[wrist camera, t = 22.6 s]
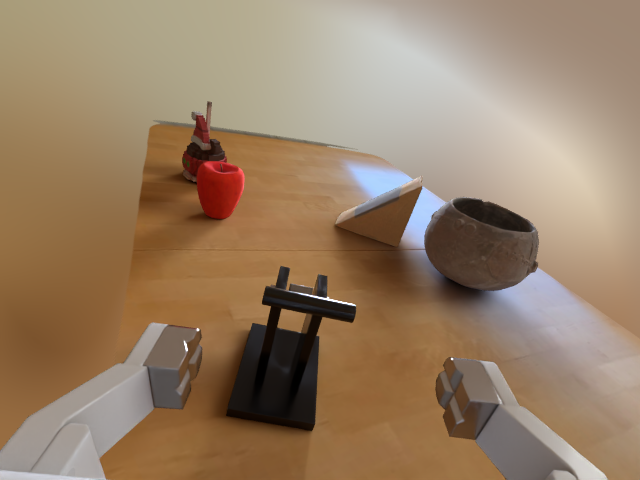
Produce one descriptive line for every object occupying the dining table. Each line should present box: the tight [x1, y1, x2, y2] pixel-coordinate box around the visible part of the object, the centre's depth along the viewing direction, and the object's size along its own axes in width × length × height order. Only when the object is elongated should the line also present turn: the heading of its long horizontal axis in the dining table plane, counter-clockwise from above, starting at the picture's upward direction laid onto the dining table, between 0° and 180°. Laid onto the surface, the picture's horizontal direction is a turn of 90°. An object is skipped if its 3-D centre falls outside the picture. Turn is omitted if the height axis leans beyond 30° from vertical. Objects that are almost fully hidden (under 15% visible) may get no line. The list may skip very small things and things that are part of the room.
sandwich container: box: [335, 176, 423, 247], centre depth 76 cm, size 9×15×15 cm, turn 74°
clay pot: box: [424, 197, 539, 291], centre depth 67 cm, size 21×21×15 cm
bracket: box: [226, 266, 329, 431], centre depth 36 cm, size 12×9×14 cm
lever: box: [262, 284, 356, 323], centre depth 28 cm, size 14×6×2 cm
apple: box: [197, 161, 244, 219], centre depth 65 cm, size 9×9×11 cm
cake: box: [182, 102, 227, 182], centre depth 77 cm, size 11×9×18 cm
